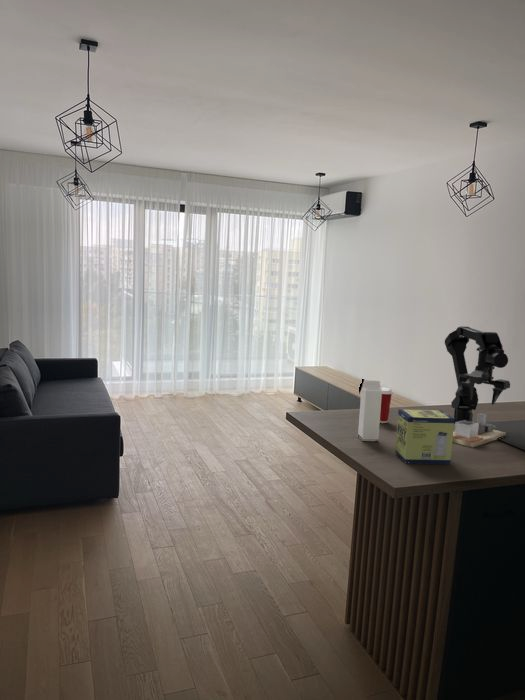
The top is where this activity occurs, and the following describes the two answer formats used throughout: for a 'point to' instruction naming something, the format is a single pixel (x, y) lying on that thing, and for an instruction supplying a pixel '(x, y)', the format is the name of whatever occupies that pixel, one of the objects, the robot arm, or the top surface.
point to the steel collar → (466, 429)
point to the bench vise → (483, 424)
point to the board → (478, 438)
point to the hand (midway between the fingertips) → (481, 402)
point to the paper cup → (385, 403)
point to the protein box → (424, 436)
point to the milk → (370, 410)
